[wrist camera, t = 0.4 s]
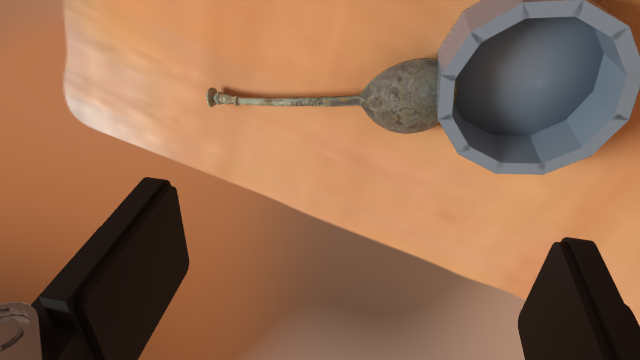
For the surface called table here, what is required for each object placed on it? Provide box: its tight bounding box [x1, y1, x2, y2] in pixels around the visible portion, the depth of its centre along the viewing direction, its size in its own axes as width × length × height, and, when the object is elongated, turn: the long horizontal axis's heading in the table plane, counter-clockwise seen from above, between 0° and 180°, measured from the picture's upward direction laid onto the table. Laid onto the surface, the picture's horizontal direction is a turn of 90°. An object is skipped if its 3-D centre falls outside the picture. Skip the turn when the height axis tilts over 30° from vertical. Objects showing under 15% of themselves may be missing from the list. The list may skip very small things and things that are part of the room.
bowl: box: [436, 0, 640, 175], centre depth 34 cm, size 13×13×6 cm
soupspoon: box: [206, 58, 457, 134], centre depth 38 cm, size 22×3×7 cm
